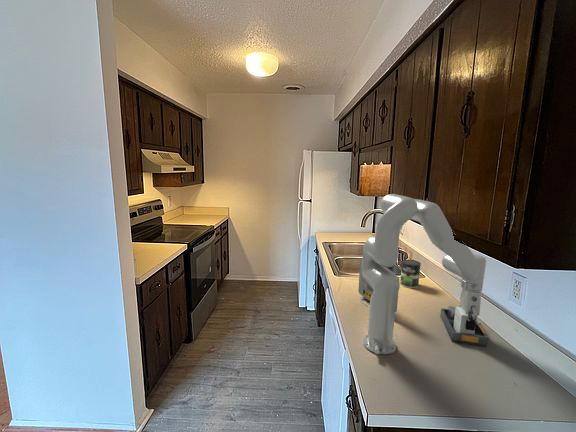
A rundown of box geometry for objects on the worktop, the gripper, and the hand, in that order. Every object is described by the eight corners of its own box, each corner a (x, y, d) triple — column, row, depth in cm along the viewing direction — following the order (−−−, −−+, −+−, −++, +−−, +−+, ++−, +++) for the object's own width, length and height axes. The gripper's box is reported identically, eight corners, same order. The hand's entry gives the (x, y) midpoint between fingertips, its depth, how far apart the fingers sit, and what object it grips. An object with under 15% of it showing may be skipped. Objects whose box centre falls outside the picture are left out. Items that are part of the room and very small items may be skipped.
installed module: (470, 327, 132) (472, 314, 131) (450, 324, 135) (451, 312, 133) (466, 320, 138) (467, 308, 137) (447, 317, 140) (448, 305, 139)
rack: (487, 347, 120) (488, 337, 119) (452, 342, 123) (453, 332, 122) (469, 320, 140) (470, 311, 140) (440, 316, 144) (441, 307, 143)
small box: (473, 340, 123) (477, 316, 121) (458, 338, 124) (461, 315, 122) (466, 330, 130) (469, 307, 128) (452, 328, 132) (455, 306, 130)
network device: (400, 316, 143) (403, 276, 139) (385, 319, 139) (388, 279, 136) (367, 294, 166) (369, 259, 162) (353, 296, 163) (355, 261, 159)
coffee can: (416, 289, 173) (418, 266, 170) (397, 285, 179) (399, 262, 176) (420, 284, 181) (422, 261, 179) (402, 279, 187) (404, 258, 185)
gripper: (490, 295, 113) (483, 336, 117) (474, 278, 130) (469, 315, 133) (467, 292, 115) (462, 333, 118) (455, 276, 132) (450, 312, 135)
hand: (466, 323), depth 126 cm, fingers open, 9 cm apart
